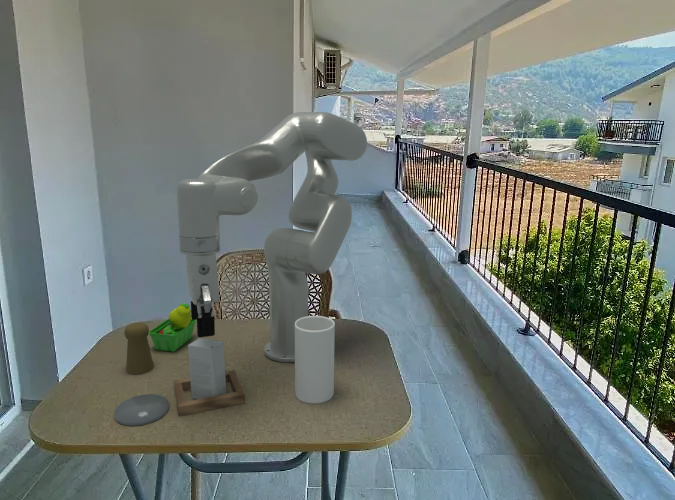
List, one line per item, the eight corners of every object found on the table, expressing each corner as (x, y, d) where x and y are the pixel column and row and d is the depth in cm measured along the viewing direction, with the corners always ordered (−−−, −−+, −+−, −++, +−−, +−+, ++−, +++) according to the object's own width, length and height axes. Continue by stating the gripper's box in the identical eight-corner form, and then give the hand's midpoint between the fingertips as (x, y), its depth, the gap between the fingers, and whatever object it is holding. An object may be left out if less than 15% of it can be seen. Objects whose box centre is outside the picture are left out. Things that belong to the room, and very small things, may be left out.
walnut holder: (234, 378, 109) (234, 370, 108) (245, 403, 99) (245, 394, 98) (174, 389, 104) (173, 380, 103) (178, 416, 94) (178, 407, 93)
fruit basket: (172, 333, 132) (169, 294, 129) (202, 336, 130) (200, 297, 128) (148, 351, 121) (144, 309, 118) (180, 355, 119) (177, 312, 117)
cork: (144, 376, 109) (140, 330, 106) (120, 373, 110) (115, 328, 108) (159, 364, 115) (155, 320, 112) (136, 361, 116) (132, 318, 113)
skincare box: (226, 393, 102) (224, 341, 99) (215, 404, 98) (212, 349, 96) (202, 388, 104) (199, 336, 101) (190, 398, 100) (186, 345, 97)
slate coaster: (167, 393, 102) (166, 390, 102) (170, 419, 93) (170, 415, 93) (115, 403, 98) (114, 399, 98) (113, 430, 89) (113, 427, 89)
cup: (306, 407, 98) (306, 334, 94) (288, 389, 104) (287, 320, 100) (341, 396, 102) (342, 325, 98) (321, 379, 109) (321, 312, 105)
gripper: (227, 252, 87) (229, 341, 91) (212, 234, 103) (214, 311, 106) (184, 254, 84) (188, 346, 88) (175, 236, 100) (179, 314, 103)
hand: (202, 327), depth 97 cm, fingers open, 9 cm apart
